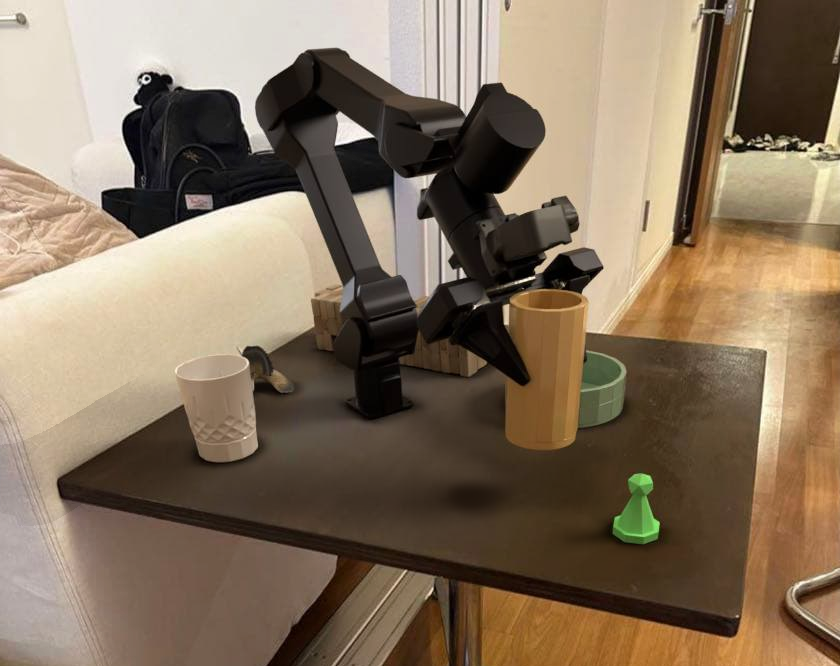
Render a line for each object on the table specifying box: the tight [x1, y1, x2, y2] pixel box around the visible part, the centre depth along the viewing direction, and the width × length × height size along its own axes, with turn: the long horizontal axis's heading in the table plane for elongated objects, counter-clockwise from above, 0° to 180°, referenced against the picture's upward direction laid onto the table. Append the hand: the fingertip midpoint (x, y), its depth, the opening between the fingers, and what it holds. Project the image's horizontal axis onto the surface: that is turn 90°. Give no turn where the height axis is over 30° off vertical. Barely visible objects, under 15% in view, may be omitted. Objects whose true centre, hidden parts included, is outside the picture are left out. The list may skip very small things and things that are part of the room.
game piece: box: [612, 473, 660, 545], centre depth 70 cm, size 4×4×6 cm
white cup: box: [174, 353, 259, 463], centre depth 88 cm, size 8×8×10 cm
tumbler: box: [504, 289, 590, 451], centre depth 73 cm, size 7×7×13 cm
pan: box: [504, 349, 628, 429], centre depth 96 cm, size 14×14×4 cm
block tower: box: [310, 283, 506, 378], centre depth 112 cm, size 8×8×29 cm
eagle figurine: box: [236, 345, 295, 394], centre depth 104 cm, size 8×7×9 cm
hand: (555, 373), depth 72 cm, fingers closed on tumbler, 7 cm apart
